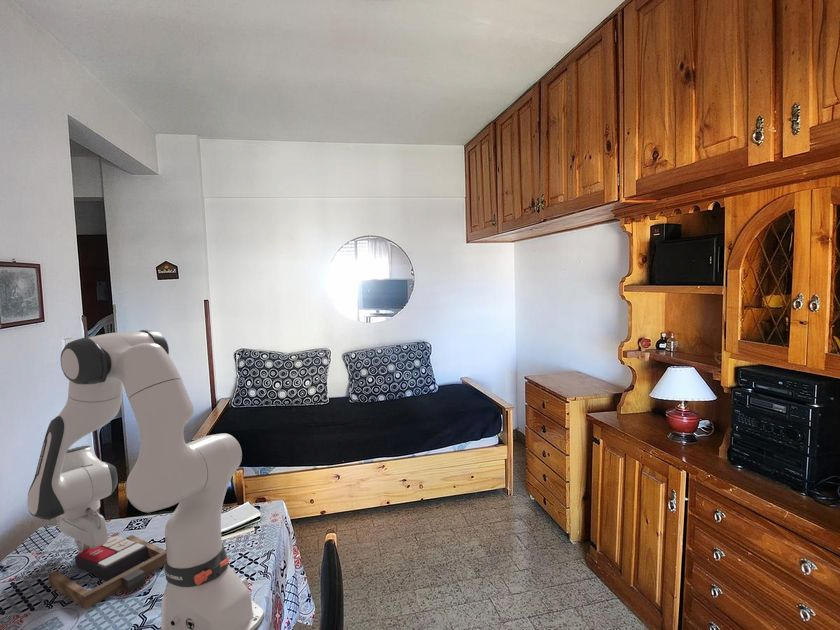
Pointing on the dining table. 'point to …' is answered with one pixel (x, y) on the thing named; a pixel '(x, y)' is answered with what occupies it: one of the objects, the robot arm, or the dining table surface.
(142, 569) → the cradle
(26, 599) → the dining table surface
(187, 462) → the robot arm
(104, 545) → the red and white box
